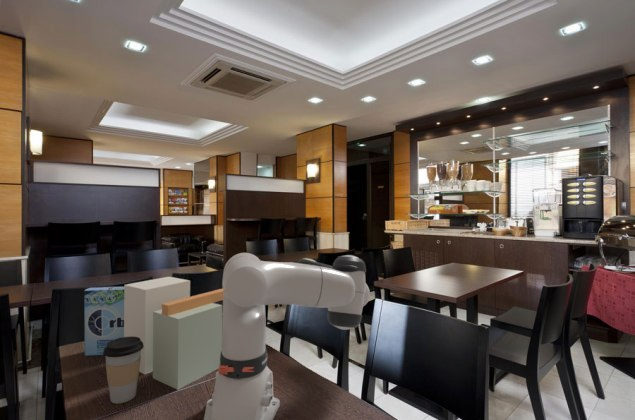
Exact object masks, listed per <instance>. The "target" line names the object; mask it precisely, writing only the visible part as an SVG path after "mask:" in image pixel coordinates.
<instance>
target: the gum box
mask: <svg viewBox="0 0 635 420" xmlns="http://www.w3.org/2000/svg"><path fill="white" fill-rule="evenodd" d="M83 291H84V294H83V295H84V298H83V299H84V300H83V301H84V302H83V303H84V356H104V355H103V352H104V349H105V348H106V346H107V344H108V343H109V342H110V341H112V340H115V339H118V338H122V337H124V286H90V287H88V288H86V289H84V290H83Z"/></svg>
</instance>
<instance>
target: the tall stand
mask: <svg viewBox="0 0 635 420" xmlns="http://www.w3.org/2000/svg"><path fill="white" fill-rule="evenodd" d="M187 297H191V280H188V279H184V278H178V277H174V276H165V277H158V278H154V279H148V280H144V281H138V282H132V283H127V284H124V337H139V338H140V339H141V341H142V342H143V345H144V347H143V349H141V355H140V356H141V360H140V369H139V373H140V374H143V375H147V374H149V373H151V372H152V373H153V312H154V311H158V310H161V309H162V304H164V303H168V302H172V301H176V300H179V299H183V298H187Z"/></svg>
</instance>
